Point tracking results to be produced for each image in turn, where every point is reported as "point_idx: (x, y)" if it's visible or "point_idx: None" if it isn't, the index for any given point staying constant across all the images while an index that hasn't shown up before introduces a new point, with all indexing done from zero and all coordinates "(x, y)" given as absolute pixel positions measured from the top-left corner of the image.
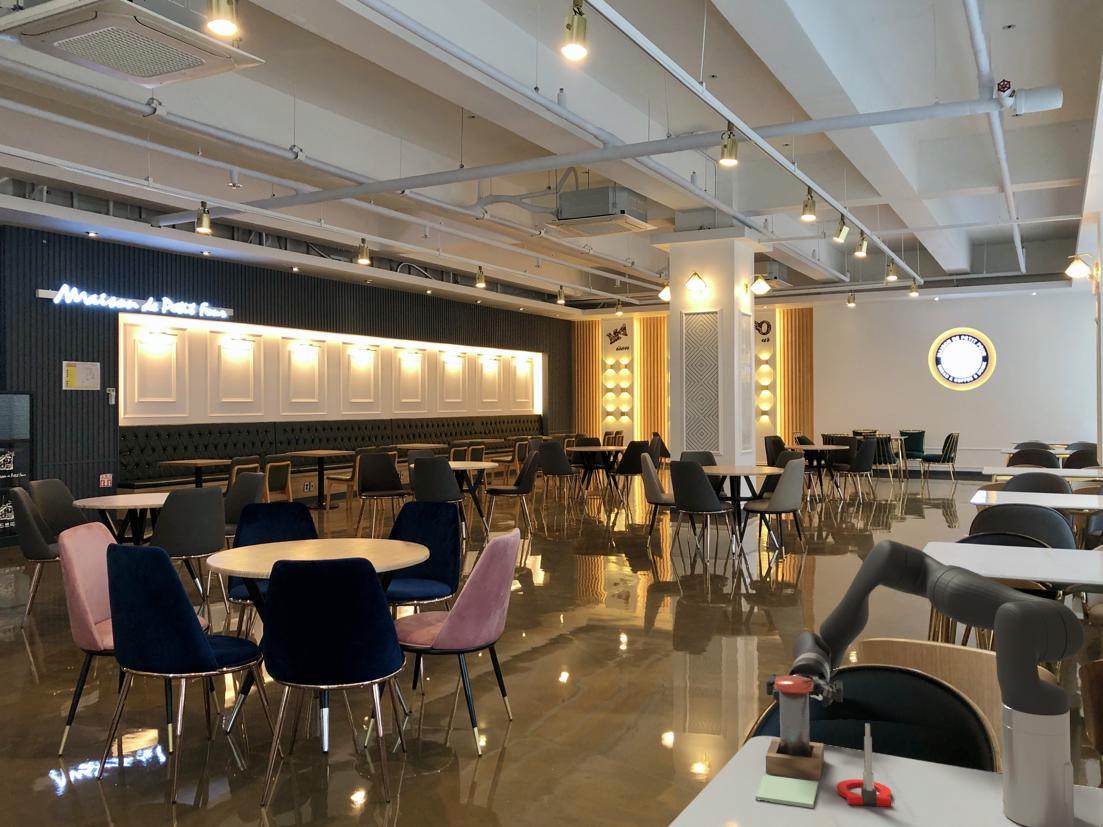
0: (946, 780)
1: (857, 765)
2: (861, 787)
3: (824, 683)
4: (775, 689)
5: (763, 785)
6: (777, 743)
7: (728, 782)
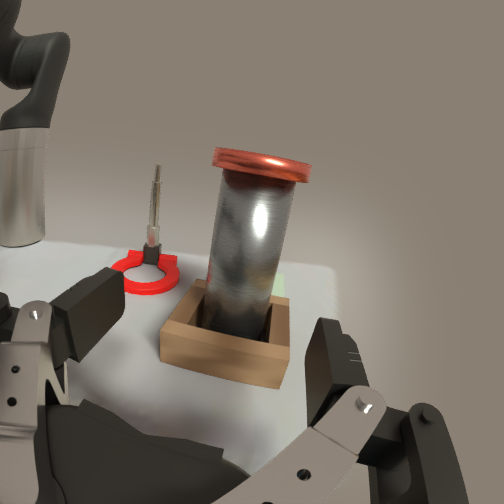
0: (16, 282)
1: None
2: (159, 247)
3: (14, 341)
4: (352, 361)
5: (279, 288)
6: (274, 335)
7: (325, 304)
